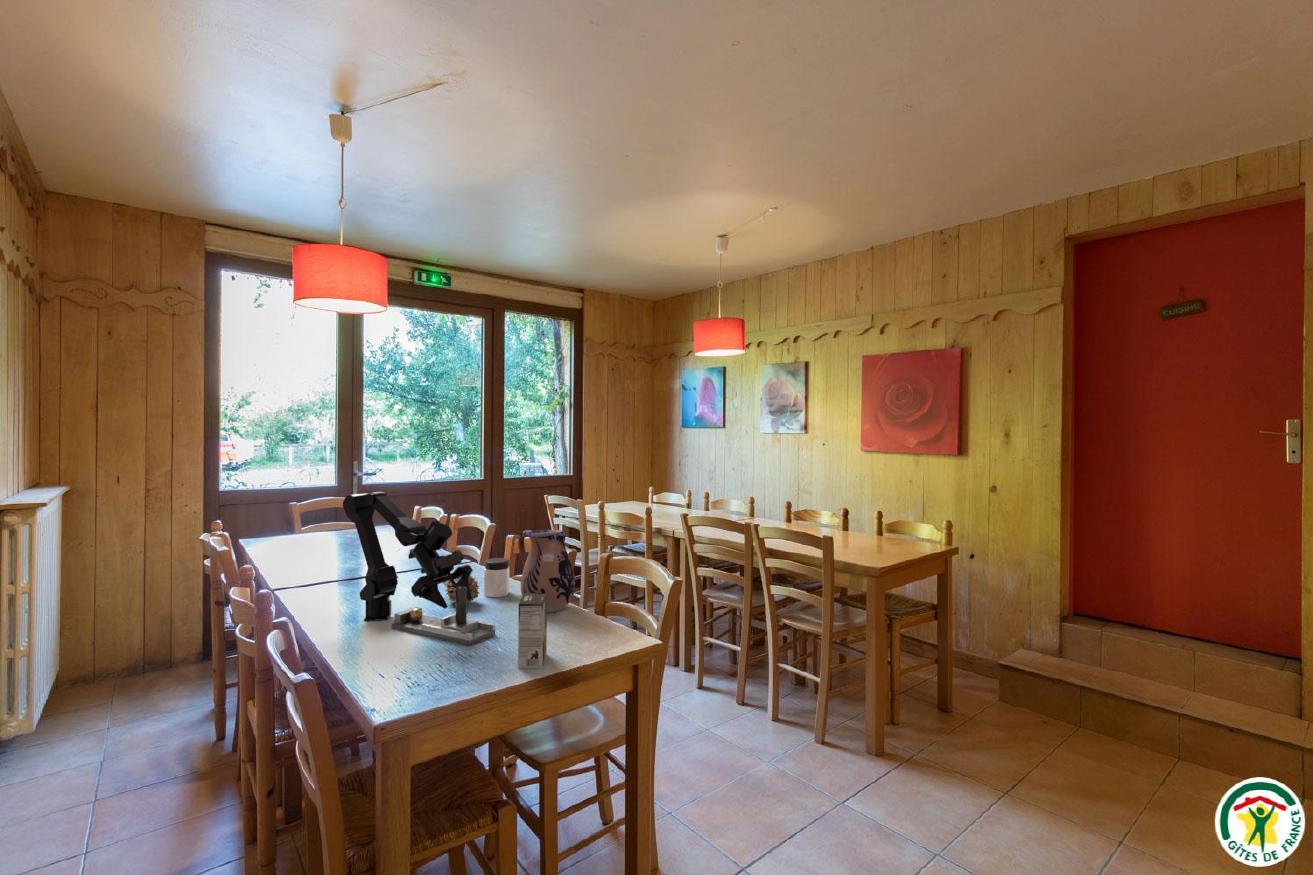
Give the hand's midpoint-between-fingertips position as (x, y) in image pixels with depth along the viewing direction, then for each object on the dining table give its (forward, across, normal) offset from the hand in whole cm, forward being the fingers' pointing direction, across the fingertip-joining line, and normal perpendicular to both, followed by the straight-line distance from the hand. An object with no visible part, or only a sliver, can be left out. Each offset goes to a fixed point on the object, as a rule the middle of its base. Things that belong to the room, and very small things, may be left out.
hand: (458, 603), depth 172 cm
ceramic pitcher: (+10, +32, +3) cm, 34 cm away
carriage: (+5, 0, +5) cm, 7 cm away
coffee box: (+28, -6, -15) cm, 32 cm away
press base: (+2, 0, +11) cm, 11 cm away
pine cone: (-12, +25, +24) cm, 37 cm away
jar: (-7, +38, +20) cm, 43 cm away
